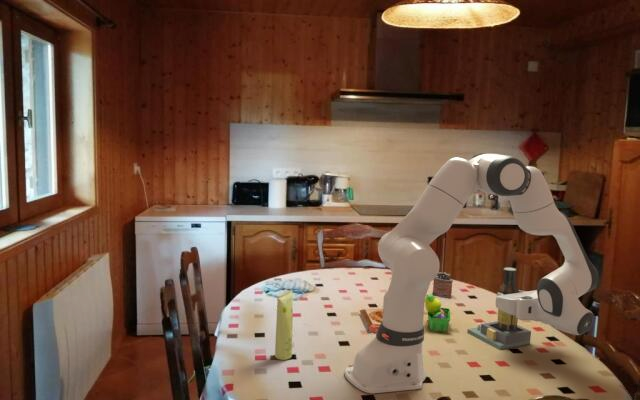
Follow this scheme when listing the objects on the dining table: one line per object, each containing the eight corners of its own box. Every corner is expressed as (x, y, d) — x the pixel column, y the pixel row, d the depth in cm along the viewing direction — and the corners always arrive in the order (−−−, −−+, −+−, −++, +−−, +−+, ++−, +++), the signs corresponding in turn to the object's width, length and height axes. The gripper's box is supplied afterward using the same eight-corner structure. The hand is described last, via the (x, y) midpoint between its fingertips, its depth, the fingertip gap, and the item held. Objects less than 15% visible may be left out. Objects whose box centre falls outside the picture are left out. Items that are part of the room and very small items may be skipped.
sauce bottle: (512, 324, 179) (517, 266, 176) (520, 331, 173) (525, 271, 170) (493, 324, 179) (497, 266, 176) (500, 331, 172) (505, 271, 170)
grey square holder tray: (499, 349, 168) (500, 339, 168) (467, 332, 181) (468, 323, 181) (530, 343, 174) (530, 334, 173) (496, 327, 187) (497, 318, 187)
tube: (293, 360, 155) (295, 295, 152) (276, 361, 153) (278, 296, 151) (290, 352, 160) (292, 289, 157) (273, 353, 159) (275, 290, 156)
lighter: (452, 297, 220) (454, 273, 219) (449, 299, 217) (451, 275, 216) (433, 293, 224) (435, 270, 223) (431, 295, 221) (432, 271, 220)
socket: (502, 345, 168) (502, 336, 168) (477, 332, 178) (478, 324, 178) (530, 340, 174) (531, 331, 173) (505, 328, 183) (505, 319, 183)
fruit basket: (449, 333, 180) (452, 301, 178) (423, 331, 181) (425, 298, 180) (448, 322, 191) (450, 291, 189) (423, 319, 193) (425, 289, 191)
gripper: (565, 292, 167) (530, 280, 179) (517, 300, 158) (484, 287, 170) (563, 312, 168) (529, 299, 180) (515, 320, 159) (482, 306, 171)
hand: (506, 293), depth 175 cm, fingers closed on sauce bottle, 6 cm apart
